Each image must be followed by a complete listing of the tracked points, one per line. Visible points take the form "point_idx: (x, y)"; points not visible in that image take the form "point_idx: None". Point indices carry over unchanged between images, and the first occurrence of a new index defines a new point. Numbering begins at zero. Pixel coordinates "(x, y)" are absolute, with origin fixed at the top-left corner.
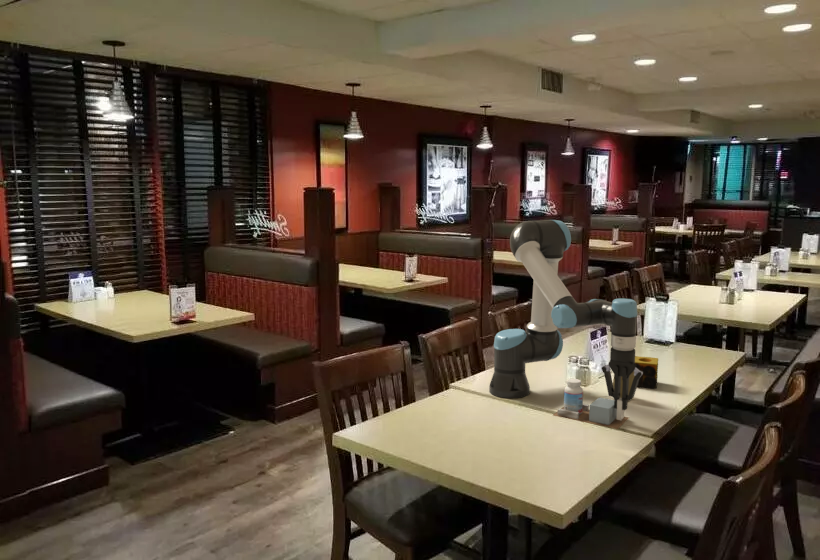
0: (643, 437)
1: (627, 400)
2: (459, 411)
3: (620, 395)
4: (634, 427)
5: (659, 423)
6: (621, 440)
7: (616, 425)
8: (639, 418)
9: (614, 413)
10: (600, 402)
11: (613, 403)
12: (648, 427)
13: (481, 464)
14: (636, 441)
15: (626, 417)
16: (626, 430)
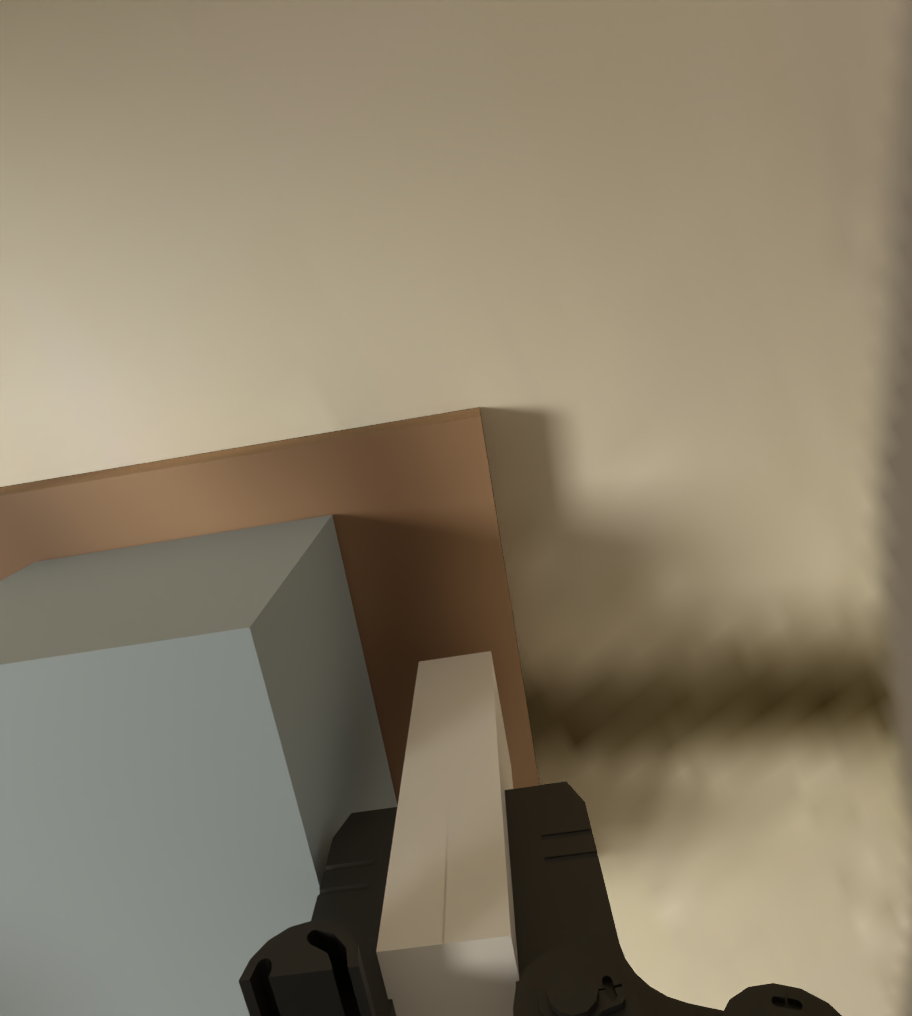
0: (839, 769)
1: (621, 955)
2: None
3: (361, 985)
4: (624, 550)
5: (868, 128)
6: (669, 976)
7: None
8: (525, 140)
9: (350, 732)
10: (47, 953)
11: (269, 847)
12: (780, 419)
13: None
14: (811, 909)
15: (441, 446)
16: (587, 706)
